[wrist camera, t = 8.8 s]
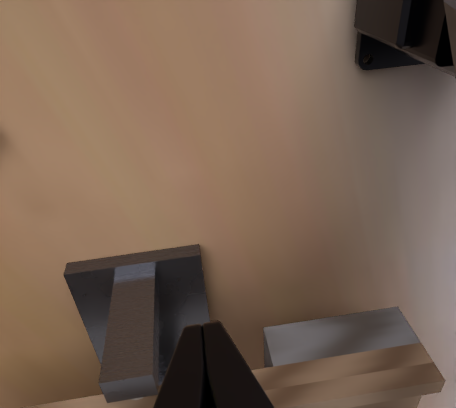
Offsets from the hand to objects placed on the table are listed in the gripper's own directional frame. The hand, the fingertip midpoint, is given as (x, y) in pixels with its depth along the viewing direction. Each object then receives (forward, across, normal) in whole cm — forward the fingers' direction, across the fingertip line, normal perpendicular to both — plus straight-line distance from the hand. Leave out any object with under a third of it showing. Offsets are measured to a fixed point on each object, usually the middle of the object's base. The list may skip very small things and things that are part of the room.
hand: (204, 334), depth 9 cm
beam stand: (+13, +4, +15) cm, 20 cm away
